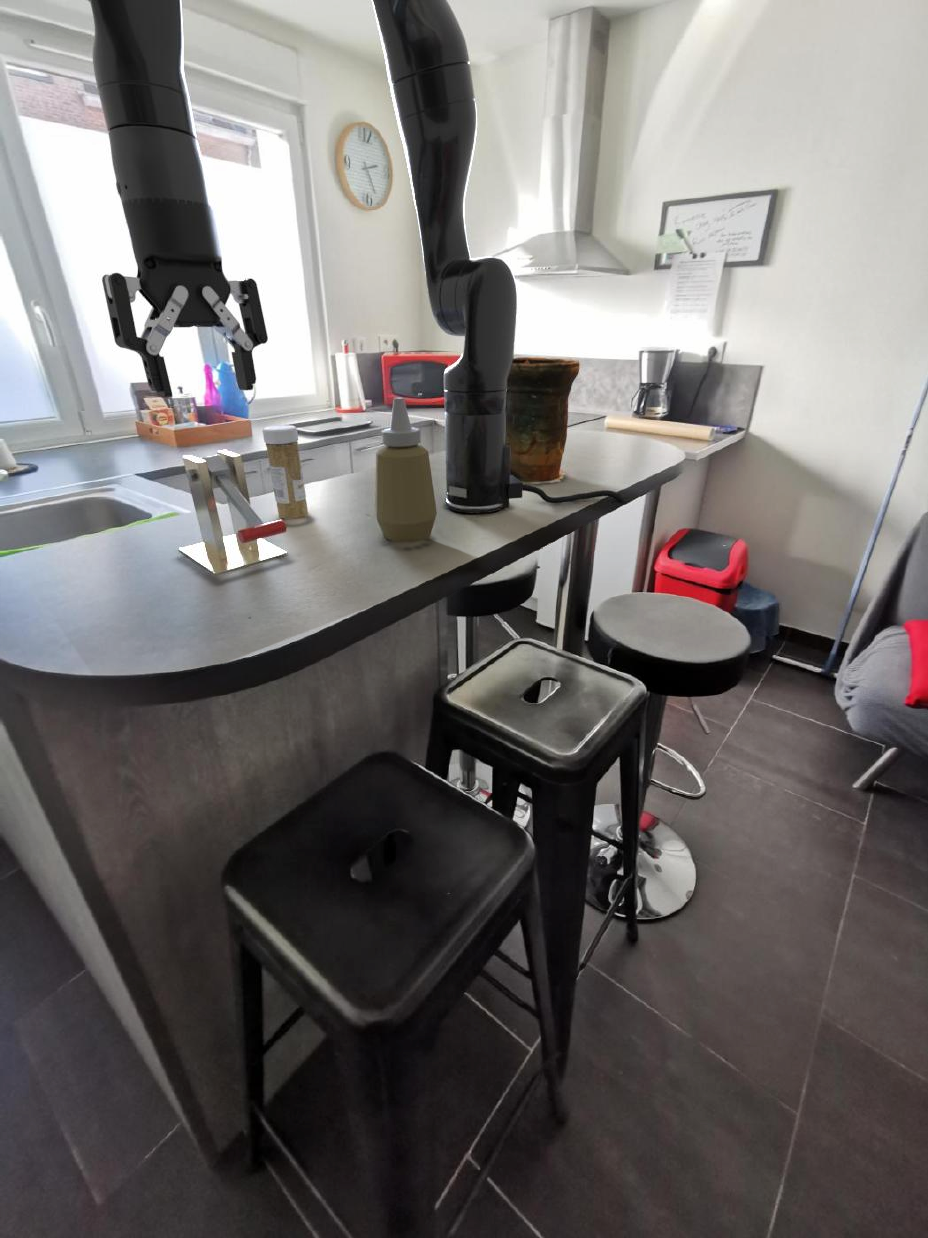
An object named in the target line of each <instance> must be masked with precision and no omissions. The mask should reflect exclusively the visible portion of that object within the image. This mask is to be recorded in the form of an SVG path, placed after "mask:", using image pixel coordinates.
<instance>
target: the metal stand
mask: <svg viewBox="0 0 928 1238" xmlns="http://www.w3.org/2000/svg"><path fill="white" fill-rule="evenodd" d="M216 453H217V455H219V456H220V457H221V458H222V459H223V461H224V462H225V463H226V464H227V465H228V467H229V468H230V481H231V482H232V483H233V485H234V486H235V487H236V488H237V490H238V491H239V492H240V493H241V495H242V496H243V497H244V498H245V500H246V501H247V502H248V503H249V505H250V506H251V507H252V504H251V499H250V496H249V495H250V494H249V489H248V484H247V479H246V473H245V468H244V464H243V457H242V455H241V454H238V453H235V452H232V451H228V450H227V449H223V450H217V451H216ZM182 460H183V465H184V469H185V473H186V474H185V475H186V478H187V481H188V485H189V489H190V493H191V499H192V501H193V506H194V511H195V514H196V518H197V522H198V523H197V524H198V527H199V531H200V535H201V539H202V542H200V543H196V544H193V545H188V546H185V547H179V548H178V551H179V552H181V553H182V554H184V555H185V556H186V557H188V558H190V559H191V560H193V561H194V562H195V563H197V564H198V565H199V566H201V567H203V568H204V569H206V570H207V571H209V572H210V573H211V574H212V575H214V576H218V575H220V574H223V573H228V572H230V571H234V570H238V569H241V568H244V567H248V566H251V565H256V564H259V563H262V562H265V561H269V560H272V559H276V558H279V557H283V556H286V555H288V551H286V550H283V549H281V548H280V547H278V546H276V545H274V544H272V543H271V542H268V541H266V540H265V539H263V538H262V539H258V540H255V541H251V542H247V543H241V542H240V540H239V538H238V531H239V530H242V529H246V528H250V525H249V524H248V523H247V521H246V520H245V519H244V518H243V516H242V515H241V514H240V513H239V511H238V510H237V509H236V507H235V506H234V505H233V504H232V502H231V501H230V500H229V498H228V497H227V496H226V500H227V505H228V510H229V514H230V519H231V522H232V528H233V532H234V533H233V534H232V535H228V536H224V534H223V529H222V525H221V520H220V515H219V512H218V507H217V503H216V502H217V501H216V497H215V494H214V489H212V484H211V480H210V475H209V471H208V466H207V462H206V461H205V460H202V459H200V458H199V457H196V456H193V455H191V454H190V455H183V456H182Z"/></svg>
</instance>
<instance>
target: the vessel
mask: <svg viewBox="0 0 928 1238" xmlns="http://www.w3.org/2000/svg"><path fill="white" fill-rule="evenodd" d="M579 373H580V361H579V360H576V359H575V360H574V359H572V358H547V357H530V356H529V357H528V356H527V357H525V356H523V357H514V359H513V365H512V368H511V371H510V374H509V377H508V388H507V389H508V390H507V434H506V443H507V444H509V445H510V448H511V451H510V475H513V476H514V477H516V478H517V479H518V480H520V481H521V482H522V483H523V484H525V485H540V484H542V483H543V484H544V483H545V484H548V483H551V484H552V483H556V482H557V483H559V482H561V480H562V479H564V475H565V472H563V470H561V466H562V461H563V455H564V453H565V448H566V443H567V437H568V422H569V397H570V394H571V391H572V386H573V383H574V382H575V380H576V379H577V377H578V376H579Z"/></svg>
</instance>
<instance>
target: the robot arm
mask: <svg viewBox="0 0 928 1238" xmlns="http://www.w3.org/2000/svg"><path fill="white" fill-rule="evenodd" d="M86 1H87V2H88V3H90V7H91V12H92V17H93V25H94V36H93V37H94V38H93V46H92V67H93V73H94V78H95V83H96V87H97V91H98V96H99V101H100V105H101V110H102V114H103V118H104V122H105V125H106V130H107V132H108V138H109V139H108V140H109V145H110V153H111V154H110V155H111V162H112V167H113V172H114V177H115V187H116V191H117V194H118V196H119V198H120V202H121V206H122V211H123V214H124V219H125V223H126V227H127V230H128V235H129V239H130V244H131V248H132V252H133V255H134V259H135V262H136V263H135V264H136V267H137V274H136V277H134V276H126V275H125V276H124V275H123V274H122V273H120V272H111V273H107V274H104V275H103V276H102V278H101V282H102V286H103V293H104V296H105V301H106V306H107V310H108V315H109V320H110V325H111V329H112V335H113V339H114V343H115V345H116V346H117V347H119V348H121V349H126V350H129V351H132V352H135V353H136V354H138V355H139V356H140V358H141V362H142V365H143V369H144V372H145V378H146V381H147V384H148V387H149V388H150V390H151V391H152V392H156V395H157V397H159V398H163V399H166V398H167V399H168V398H172V397H173V390H172V387H171V382H170V377H169V374H168V370H167V366H166V361H165V357H164V355H160V353H161V350H162V348H163V346H164V344H165V342H166V339H167V338H168V336H170V334H171V333H172V331H173V329H174V328H193V327H195V328H213V329H214V330H215V331H216V332H217V333H218V334H220V335H221V336H222V337H223V338H224V339H225V340H226V342H227V343H228V344H229V345H230V346H231V348H232V349H233V350H234V351H231V358H232V363H233V368H234V374H235V380H236V384H237V387H238V389H239V390H240V391H253V389H254V385H255V384H256V382H257V375H256V370H255V369H256V368H255V363H254V358H253V350H254V349H255V348H256V347H258V346H260V345H264V344H266V343H267V342H268V340H269V337H268V332H267V327H266V322H265V317H264V312H263V308H262V303H261V298H260V293H259V288H258V284H257V282H256V281H255V279H254V278H241V279H237V280H228V279H227V277H226V275H225V272H224V270H223V259H222V258H223V257H222V251H221V245H220V242H219V241H220V240H219V236H218V230H217V225H216V220H215V219H216V218H215V213H214V208H213V203H212V202H213V201H212V197H211V190H210V185H209V179H208V175H207V170H206V167H205V163H204V160H203V156H202V153H201V150H200V146H199V142H198V136H197V131H196V126H195V119H194V113H193V110H192V103H191V98H190V97H191V96H190V93H189V88H188V84H187V80H186V75H185V74H186V73H185V61H184V54H185V53H184V52H185V51H184V26H183V5H182V0H86ZM371 3H372V7H373V11H374V15H375V21H376V25H377V29H378V34H379V37H380V42H381V46H382V47H381V48H382V52H383V56H384V61H385V68H386V73H387V78H388V83H389V87H390V93H391V97H392V102H393V107H394V112H395V116H396V117H395V118H396V121H397V126H398V130H399V134H400V138H401V143H402V146H403V149H404V155H405V159H406V164H407V169H408V174H409V175H408V176H409V180H410V186H411V190H412V196H413V202H414V207H415V210H416V211H415V212H416V217H417V222H418V229H419V237H420V243H421V251H422V257H423V267H424V275H425V283H426V289H427V296H428V301H429V305H430V310H431V313H432V315H433V317H434V320H435V322H436V324H437V326H439V328H440V329H441V330H442V332H444V333H445V334H447V335H450V336H454V337H464V339H463V342H464V343H463V350H462V353H461V355H460V357H459V358H458V360H457V361H454V363H452V364H451V365H449V366H447V367H446V368H445V369H444V371H443V402H444V403H443V404H444V443H445V446H444V447H445V474H446V475H445V482H446V491H445V492H446V497H445V503H446V507H447V508H448V509H449V510H451V511H454V512H459V513H463V514H487V513H493V512H497V511H499V510H502V509H509V508H510V500H512V499H513V500H514V499H522V498H523V493H524V492H523V491H525V492H530V493H534V494H536V495H538V496H539V497H540V498H541V499H542V500H543V501H544V502H546V503H548V504H563V503H571V502H575V501H581V500H588V499H595V498H601V497H610V498H613V499H615V500H616V501H617V502H618V503H620V504H621V503H622V504H624V503H625V504H626V503H627V499H626V498H625V497H624V496H623V495H622V494H620V493H618V492H617V491H613V490H609V489H604V490H603V489H602V490H596V491H595V490H594V491H590V492H583V493H574V494H571V495H564V496H556V497H553V496H549V495H548V494H547V493H546V492H545V490H543V489H542V488H539V487H538V486H534V485H532V484H523V483H522V482H521V481H520V480H518V479H517V478H516V477H514V476H513V475H510V451H511V448H510V445H509V444H507V443H506V434H507V390H508V389H507V388H508V377H509V374H510V371H511V368H512V365H513V359H514V358H515V357H514V356H515V344H516V329H517V318H518V291H517V290H518V289H517V283H516V278H515V276H514V273H513V271H512V268H511V267H510V265H509V264H508V263H507V262H506V261H505V260H503V259H501V258H499V257H496V256H482V257H474V258H473V257H472V258H471V253H470V249H469V243H468V238H467V230H466V222H465V221H466V220H465V200H466V193H467V187H468V182H469V177H470V173H471V168H472V162H473V157H474V152H475V146H476V138H477V131H478V130H477V129H478V113H477V104H476V96H475V90H474V84H473V75H472V70H471V69H472V68H471V64H470V56H469V51H468V46H467V41H466V39H465V36H464V33H463V30H462V28H461V26H460V23H459V21H458V18H457V17H456V15H455V13H454V11H453V9H452V7H451V5H450V4H449V1H448V0H371ZM137 292H139V294H140V295H141V296H142V298H143V299H145V300H146V302H147V303H149V305H150V306H151V309H150V311H149V313H148V316H147V318H146V319H145V322H144V325H143V327H144V328H143V331H142V333H141V335H140V336H138V334H137V329H136V324H135V319H134V314H133V309H132V304H131V303H134V302H135V301H136V295H137ZM230 295H231V296H232V299H233V300H234V302H235V303H236V304H238V306H239V307H238V308H239V311H240V316H241V321H242V325H243V329H242V327H241V324H240V322H239V321H238V320H237V319H236V317H235V316H234V315H233V313H232V312H231V311H230V310H229V308H228V307H227V306H226V305H227V302H228V301H229V298H230ZM619 645H621V643H619Z"/></svg>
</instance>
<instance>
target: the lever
mask: <svg viewBox="0 0 928 1238" xmlns="http://www.w3.org/2000/svg"><path fill="white" fill-rule="evenodd" d="M199 459H202V460H205V461H206V462H207V466H208V471H209V475H210V480H211V484H212V489H213V490H214V489H218V488H219V489H220V490H221V491H222V492H223V493H224V494H225V496H226V498H227V497H228V498H229V500H230V501H231V502H232V504H233V505H234V506H235V507H236V509H237V510H238V511H239V513H240V514H241V515H242V516H243V518H244V519H245V520H246V521H247V523H248V524H249V525H250V528H246V529H242V530H239V531H238V538H239V540H240V542H241V543H247V542H251V541H255V540H258V539H262V540H263V539H265V538H270V537H273V536H274V537H275V536H276V535H281V534H285V533H286V532H287V530H288V529H287V524H286V522H285V521H284V520H283V519H279V520H274V521H271V522H266V523H265V522H264V520H262V518H261V517H260V516H259V514H258V513H257V512H256V511H255V509H253V507H252V505H251V506H250V505H249V503H248V502H247V501H246V500H245V498H244V497H243V496H242V495H241V493H240V492H239V491H238V490H237V488H236V487H235V486H234V485H233V483H232V482H231V481H230V468H229V467H228V465H227V464H226V463H225V462H224V461H223V459H222V458H221V457H220V456H219V455H218V454H214V455H209V456H202V457H200V458H199Z"/></svg>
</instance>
